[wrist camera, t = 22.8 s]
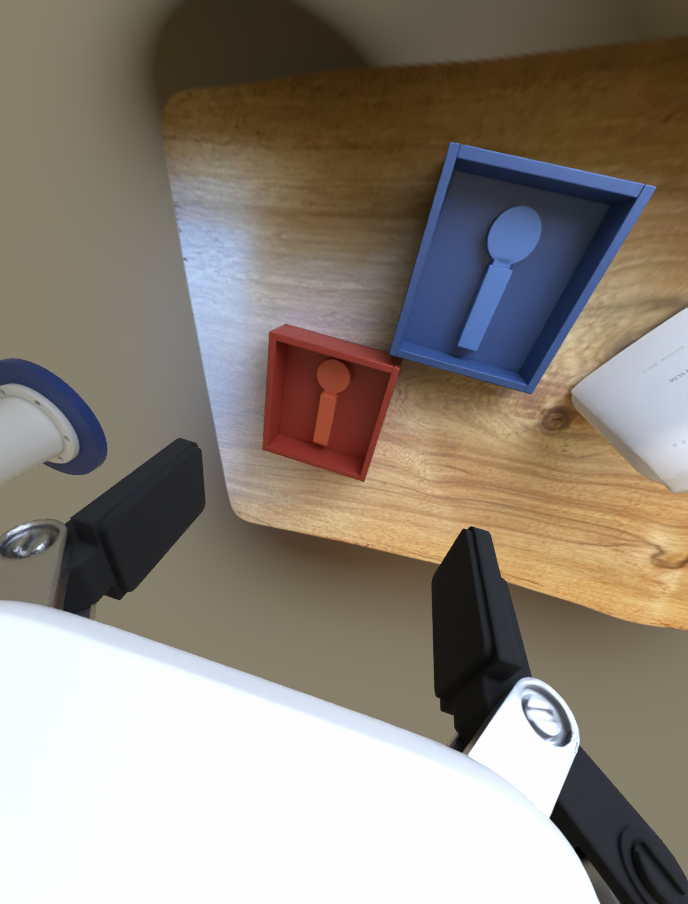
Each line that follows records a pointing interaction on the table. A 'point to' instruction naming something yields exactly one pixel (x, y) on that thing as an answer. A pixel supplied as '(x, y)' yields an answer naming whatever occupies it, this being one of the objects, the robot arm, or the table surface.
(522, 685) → the robot arm
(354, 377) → the red bin
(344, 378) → the red spoon
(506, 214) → the blue spoon
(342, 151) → the table surface
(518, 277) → the blue bin
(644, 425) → the photo printer
